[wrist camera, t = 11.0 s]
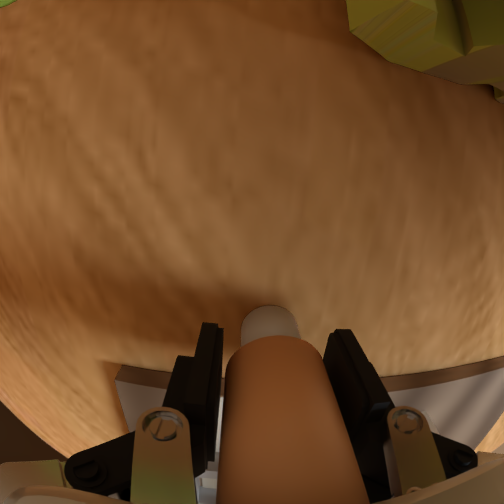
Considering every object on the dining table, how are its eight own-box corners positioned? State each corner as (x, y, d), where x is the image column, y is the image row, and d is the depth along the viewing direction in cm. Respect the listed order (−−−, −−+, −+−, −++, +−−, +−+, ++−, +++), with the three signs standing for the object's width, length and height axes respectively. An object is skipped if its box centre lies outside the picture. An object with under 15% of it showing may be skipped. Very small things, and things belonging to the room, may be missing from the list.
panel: (527, 348, 14) (545, 365, 12) (461, 451, 18) (471, 468, 15) (122, 365, 13) (103, 400, 10) (155, 480, 17) (149, 506, 14)
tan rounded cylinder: (314, 296, 12) (401, 497, 3) (301, 361, 13) (344, 543, 4) (231, 291, 12) (211, 517, 3) (227, 358, 13) (214, 551, 4)
